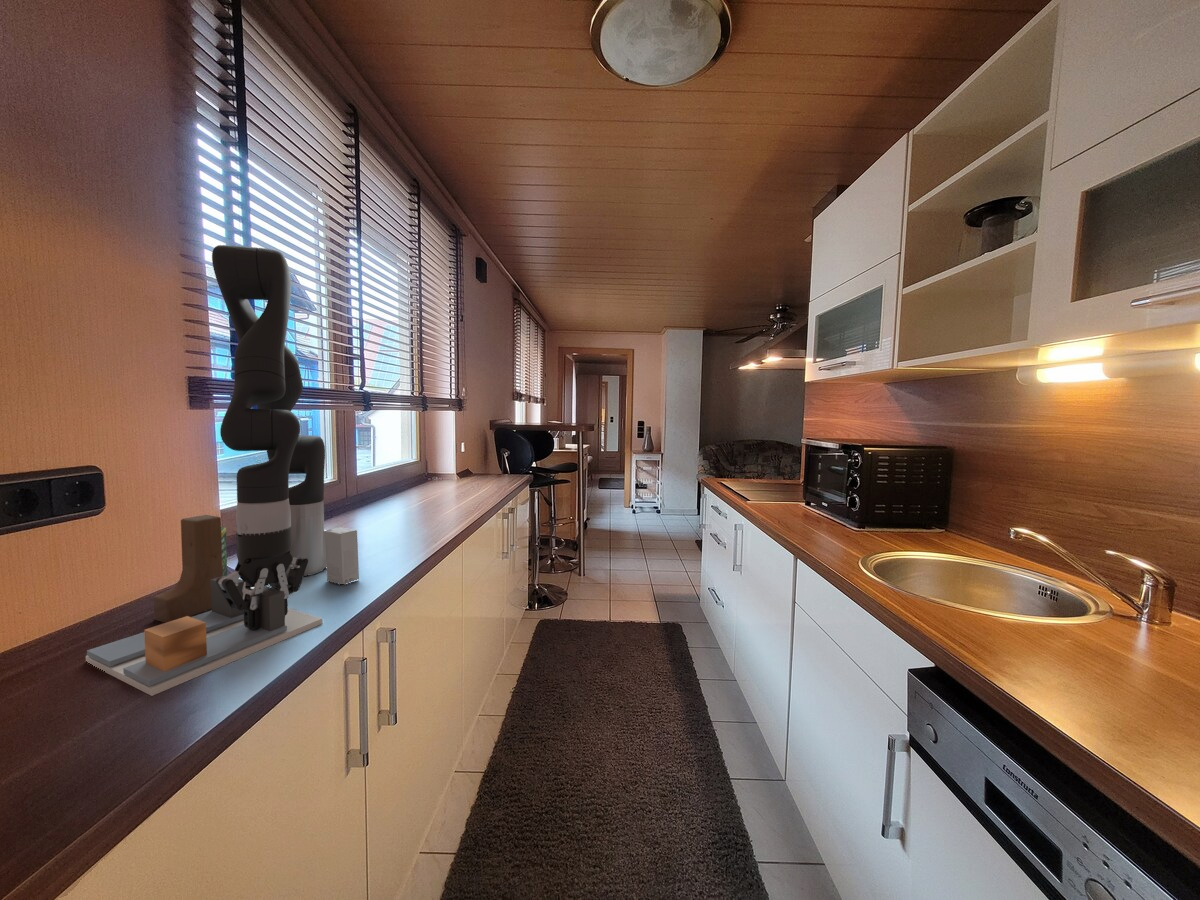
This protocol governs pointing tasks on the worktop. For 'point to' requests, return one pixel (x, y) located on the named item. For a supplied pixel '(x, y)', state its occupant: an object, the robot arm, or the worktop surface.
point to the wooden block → (193, 570)
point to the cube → (175, 643)
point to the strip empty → (213, 619)
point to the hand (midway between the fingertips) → (266, 623)
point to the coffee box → (224, 551)
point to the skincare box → (341, 555)
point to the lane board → (294, 624)
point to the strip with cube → (223, 640)
